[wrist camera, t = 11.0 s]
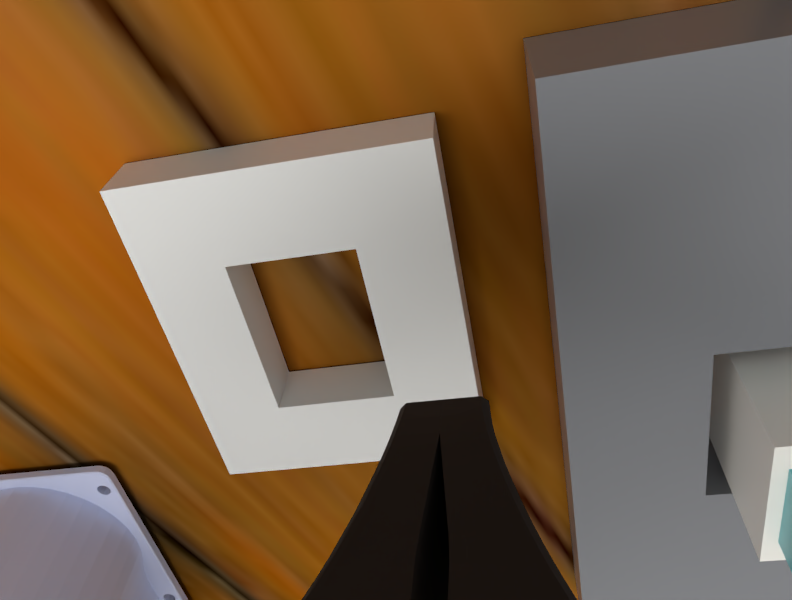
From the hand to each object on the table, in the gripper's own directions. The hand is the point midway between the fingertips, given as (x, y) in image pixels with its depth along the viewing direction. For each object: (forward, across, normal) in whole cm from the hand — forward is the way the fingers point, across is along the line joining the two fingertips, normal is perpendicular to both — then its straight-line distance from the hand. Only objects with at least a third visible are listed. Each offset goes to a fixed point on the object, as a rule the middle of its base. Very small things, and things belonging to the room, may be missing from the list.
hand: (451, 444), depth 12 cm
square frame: (+10, +5, +4) cm, 12 cm away
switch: (+10, -8, +8) cm, 15 cm away
